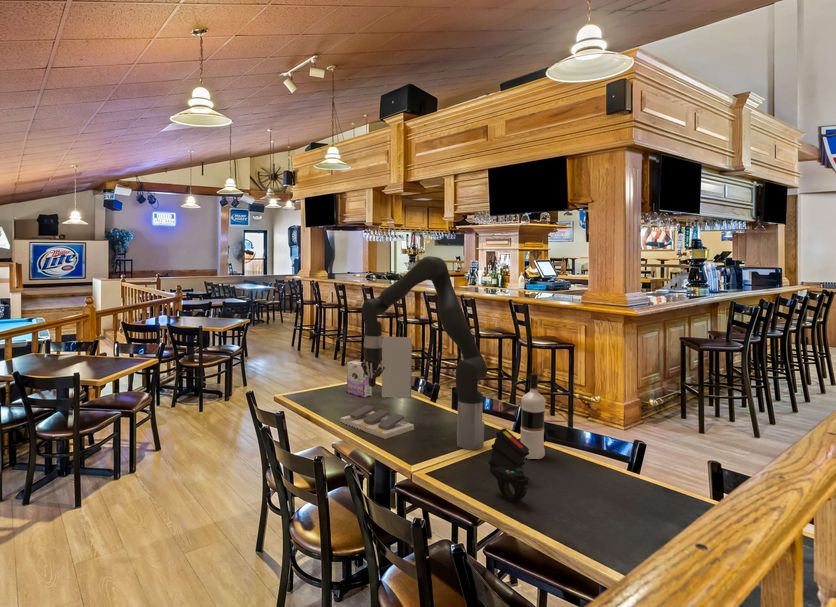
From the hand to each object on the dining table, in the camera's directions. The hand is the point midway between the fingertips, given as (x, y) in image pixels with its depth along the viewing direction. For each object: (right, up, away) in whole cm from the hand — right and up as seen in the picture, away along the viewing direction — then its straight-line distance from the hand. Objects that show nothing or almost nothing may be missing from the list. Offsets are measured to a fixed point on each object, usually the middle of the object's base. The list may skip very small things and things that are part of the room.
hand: (372, 386), depth 218 cm
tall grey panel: (+8, -12, +43) cm, 46 cm away
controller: (+46, -23, -66) cm, 84 cm away
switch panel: (+2, -16, -3) cm, 16 cm away
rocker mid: (+2, -13, -3) cm, 13 cm away
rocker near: (+9, -14, -9) cm, 18 cm away
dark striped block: (+49, -21, -50) cm, 73 cm away
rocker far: (-4, -12, +3) cm, 13 cm away
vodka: (+60, -20, -32) cm, 71 cm away
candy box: (-11, -12, +46) cm, 49 cm away
